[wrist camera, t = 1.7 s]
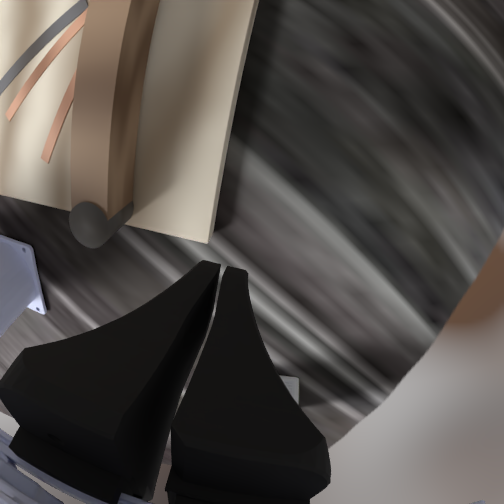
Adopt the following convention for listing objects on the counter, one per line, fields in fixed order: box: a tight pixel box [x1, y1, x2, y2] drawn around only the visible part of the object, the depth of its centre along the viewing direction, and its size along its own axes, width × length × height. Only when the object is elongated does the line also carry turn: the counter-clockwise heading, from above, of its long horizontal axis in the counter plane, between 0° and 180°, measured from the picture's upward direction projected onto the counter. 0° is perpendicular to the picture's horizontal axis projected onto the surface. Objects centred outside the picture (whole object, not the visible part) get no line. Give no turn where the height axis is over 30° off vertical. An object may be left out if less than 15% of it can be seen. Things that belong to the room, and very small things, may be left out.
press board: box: [0, 0, 259, 244], centre depth 15 cm, size 20×20×2 cm
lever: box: [69, 0, 160, 248], centre depth 12 cm, size 19×4×3 cm, turn 169°
